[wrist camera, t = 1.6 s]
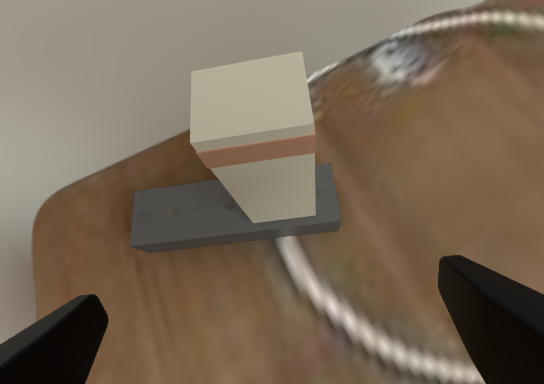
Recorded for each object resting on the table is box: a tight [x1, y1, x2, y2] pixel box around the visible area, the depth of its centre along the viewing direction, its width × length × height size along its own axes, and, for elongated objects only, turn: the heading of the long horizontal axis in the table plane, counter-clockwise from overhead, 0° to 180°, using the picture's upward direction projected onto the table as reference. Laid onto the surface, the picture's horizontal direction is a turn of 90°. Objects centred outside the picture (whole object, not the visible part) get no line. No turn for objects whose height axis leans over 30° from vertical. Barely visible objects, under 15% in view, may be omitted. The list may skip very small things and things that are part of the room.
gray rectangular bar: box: [129, 163, 341, 253], centre depth 21 cm, size 4×14×2 cm, turn 95°
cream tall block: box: [190, 51, 316, 223], centre depth 14 cm, size 3×4×10 cm
